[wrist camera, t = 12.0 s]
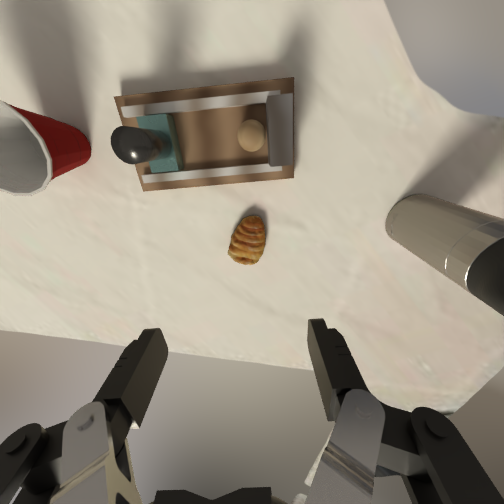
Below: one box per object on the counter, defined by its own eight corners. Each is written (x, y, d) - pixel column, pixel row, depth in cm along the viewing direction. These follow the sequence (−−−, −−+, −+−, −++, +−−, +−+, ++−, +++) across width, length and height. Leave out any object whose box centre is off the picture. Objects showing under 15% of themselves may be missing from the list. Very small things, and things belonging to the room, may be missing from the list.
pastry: (237, 209, 40) (235, 216, 36) (272, 218, 40) (274, 225, 37) (227, 253, 44) (225, 263, 40) (259, 260, 44) (260, 270, 41)
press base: (291, 80, 31) (301, 65, 24) (291, 176, 37) (299, 183, 30) (121, 99, 32) (89, 88, 25) (148, 189, 38) (127, 198, 31)
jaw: (173, 116, 31) (136, 103, 21) (184, 168, 34) (156, 178, 24) (146, 118, 31) (96, 108, 21) (159, 170, 34) (122, 181, 24)
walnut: (264, 119, 31) (265, 116, 28) (265, 149, 33) (267, 150, 29) (236, 122, 31) (234, 119, 28) (239, 152, 33) (238, 153, 30)
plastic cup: (61, 186, 38) (-15, 204, 27) (21, 114, 33) (-91, 101, 22) (120, 175, 37) (65, 189, 26) (87, 99, 32) (4, 78, 21)
